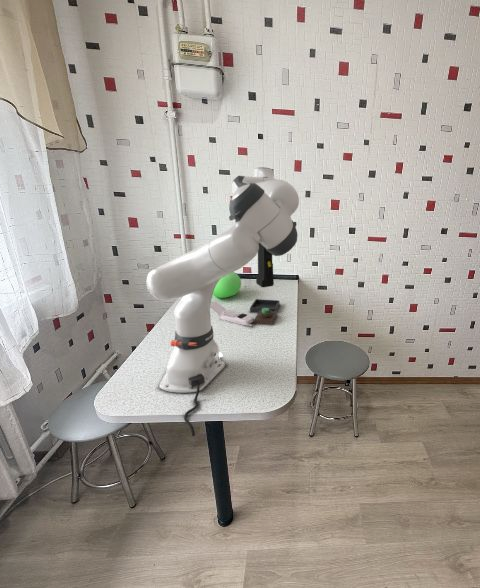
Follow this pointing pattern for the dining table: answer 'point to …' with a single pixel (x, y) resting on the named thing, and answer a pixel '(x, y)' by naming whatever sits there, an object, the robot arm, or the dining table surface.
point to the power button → (265, 310)
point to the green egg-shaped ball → (227, 286)
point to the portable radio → (264, 268)
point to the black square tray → (264, 305)
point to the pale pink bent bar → (231, 315)
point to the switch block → (265, 318)
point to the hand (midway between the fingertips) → (264, 241)
